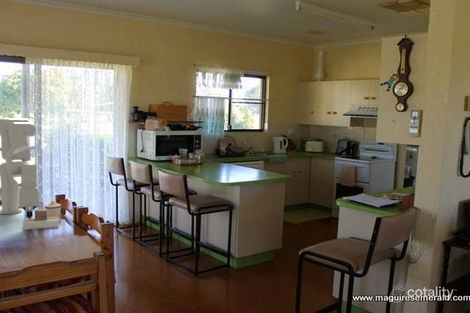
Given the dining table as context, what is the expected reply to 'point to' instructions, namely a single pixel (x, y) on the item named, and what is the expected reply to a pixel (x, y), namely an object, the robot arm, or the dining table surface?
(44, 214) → the walnut block
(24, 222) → the cream rectangular tray
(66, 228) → the dining table surface
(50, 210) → the teacup with lid
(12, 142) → the robot arm
